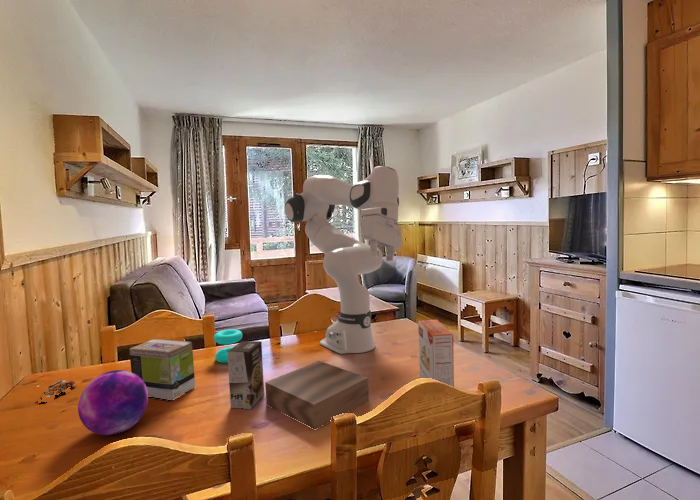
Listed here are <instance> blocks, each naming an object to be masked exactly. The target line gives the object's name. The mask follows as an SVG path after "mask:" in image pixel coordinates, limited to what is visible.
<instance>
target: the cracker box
mask: <svg viewBox="0 0 700 500" xmlns="http://www.w3.org/2000/svg"><path fill="white" fill-rule="evenodd" d="M417 323H418V354H419V355H418V358H419V362H418V364H419V365H418V366H419V379H420V378H432V379H435V380H438V381H440V382H443V383H446V384H448V385H451V386H453V387H454V388H455V376H454V375H455V371H454V370H455V368H454V367H455V366H454V361H455V360H454V359H455V358H454V356H455V355H454V352H455V351H454V349H455V348H454V334H453V333H452V332H451V331H450V330H449V329H447V328H446V326H445V325H444V324H442V323H441V322H440V321H439V320H438V319H423V320H418V322H417Z"/></svg>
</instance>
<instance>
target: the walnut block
mask: <svg viewBox="0 0 700 500" xmlns="http://www.w3.org/2000/svg"><path fill="white" fill-rule="evenodd" d="M264 383H265V384H264V388H265V399H266V400H265V403H266V406H267V405H268V406H267V407H269V406H270V407H269V408H271V407H272V408H271V409H273V410H275V411H276V410H277V411H276V412H278V411H279V412H278V413H280V412H282V413H284V414H286V415H288V416H290V417H292V418H294V419H296V420H298V421H300V422H302V423H304V424H306V425H308V426H310V427H311V428H313V429H317V428H319V427H321V426H322V425H325V424H326V425H328V424H330V423H331V422H330V420H331V417H333V416H336V415H339V414H342V413H346V414H348V413H349V412H351V411H353V410H354V409H356V408H358V407H361V405H363V404H365V403H368V402H369V401H370V400H369V398H370V395H369V377H368V376H365V375H361V374H359V373H356V372H353V371H350V370H348V369H344V368H341V367H338V366H336V365H333V364H329V363H327V362H323V361H321V360H318V361H314V362H313V363H310V364H308V365H305V366H303V367H299V368H297V369H294V370H293V371H289V372H287V373H285V374H282V375H280V376H278V377H275V378H273V379H270V380H268V381H266V382H265V381H264ZM348 411H349V412H348ZM347 412H348V413H347ZM282 413H281V414H282ZM284 414H283V415H284ZM286 415H285V416H286ZM288 416H287V417H288ZM290 417H289V418H290ZM292 418H291V419H292ZM294 419H293V420H294ZM296 420H295V421H296ZM298 421H297V422H298ZM327 423H328V424H327ZM326 425H325V426H326ZM311 428H310V429H311ZM321 428H322V427H321ZM313 429H312V430H313ZM319 429H320V428H319ZM317 430H318V429H317Z"/></svg>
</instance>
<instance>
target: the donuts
mask: <svg viewBox="0 0 700 500" xmlns="http://www.w3.org/2000/svg"><path fill="white" fill-rule="evenodd" d="M213 339H214V342H215V343H217V344H219V345H226V347H224V348H221V349H219V350H218V351H217V352H216V353H215V354H214V355H215V356H214V357H215V358H214V359H215V360H216V361H217V362H218V363H221V364H228V351H229V350H230V349H232V348H233V347H234V346H228V347H227V345H232V344H235V343H239V342H241V340H242V339H243V332H242V331H241V330H240V329H236V328H235V329H233V328H232V329H229V328H228V329H223V330H220V331H218V332H216V333H215V334H214V336H213Z"/></svg>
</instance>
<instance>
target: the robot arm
mask: <svg viewBox="0 0 700 500" xmlns="http://www.w3.org/2000/svg"><path fill="white" fill-rule="evenodd" d="M399 181H400V180H399V174H398V171H397V170H396V169H394V168H393V167H390V166H387V165H386V166H385V165H378V166H375V167H373V168H372V170H371V172H370V174H369V175H368V176H367V177H366V178H364V179H362V180H360V181H357V182H356V183H354V184H353V185H352V184H350V183H348V182H346V181H343V180H341V179H340V178H338V177H335V176H333V175H329V174H328V175H327V174H316V175H311V176H309V177H307V178H306V179H305V181H304V182H303V185H302V192H301V193H295V194H293V196H291V197H290V198H288V199H287V200H286V202H285V204H284V213H285V215H286V218H287V219H288V220H289V221H290V222H291V223H295V224H296V223H303V222H306V224H305V226H304V231H305V235H306V237H307V238H308V239H309V241H310V242H311V243H312V245H314V246H315V247H316V248H317V249H318V250H320V252H322V253H323V254H324V257H323V259H322V260H323V261H322V265H323V270H324V272H325V273H326V274H327V276H329V277H331V279H332V280H333V281H334V283H336V286H337V288H338V291H339V299H340V300H339V301H340V310H339V311H337V312H336V313H335V316H338V317H337V320H336V321H335V322H334V323H332V324H331V325H330V326H328V328H326V331H325V338H323V339H321V340H320V342H319V344H320V345H321V346H323V347H325V348H328V349H329V350H331V351H334V352H335V353H337V354H339V355H341V354H342V355H345V354H361V353H366V352H369V351H370V352H371V351H372V350H374V349H375V348H376V345H375V342H374V336H373V332H372V331H373V330H372V325H371V323H372V311H371V306H370V291H369V289H368V288H367V287H366V286H364V285H363V284H361V282H360V279H359V276H360V275H365V274H371V273H372V272H373V273H374V272H375V271H377V270H379V269H380V268H381V267H382V264H383V260H384V259H383V253H382V251H381V250H380V248H379V247H378V245H379V246H381V247H383V248H387V252H388V253H387V255H386V256H385V258H386V261H387V262H389V263H390V262H391V263H392V262H393V261H394V255H395V253H396V250H401V249H402V247H403V235H402V229H401V226H399V223H398V222H399V205H400V197H399V195H400V194H399V193H400V191H399V187H400V183H399ZM336 206H351V207H353V208H354V209H356V210H359V211H361V216H362V218H361V236H362V239H363V240H366V241H368V242H369V243H368V244H367V243H364V242H362V241H359V240H357V239H355V238H352V237H350V236H348V235H346V234H344V233H343V232H342V231H340V230H339V229H338V228H337V227H335V226H334V225H332V224H331V223H330V222H329V221H328V220H330V219H331V218H332V215H333V213H334V212H335V208H336Z"/></svg>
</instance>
